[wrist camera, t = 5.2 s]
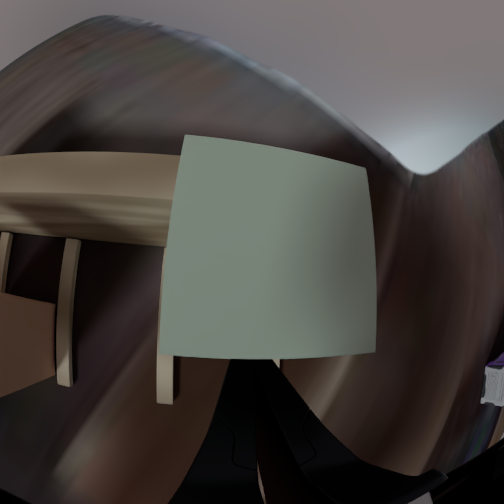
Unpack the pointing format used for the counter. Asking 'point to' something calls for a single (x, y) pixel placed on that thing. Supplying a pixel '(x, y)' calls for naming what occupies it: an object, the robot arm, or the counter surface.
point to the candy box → (494, 382)
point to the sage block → (267, 255)
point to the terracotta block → (25, 342)
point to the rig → (88, 220)
